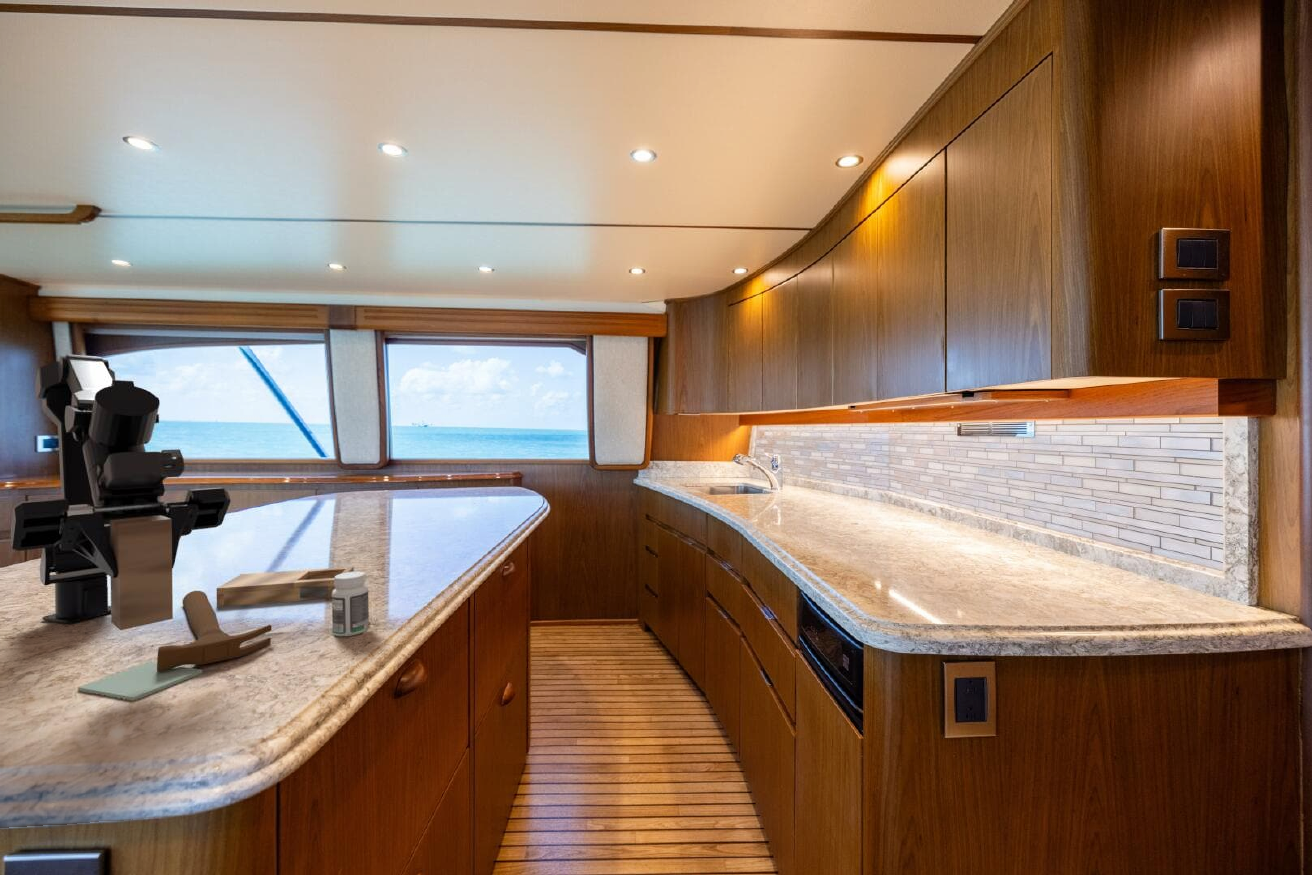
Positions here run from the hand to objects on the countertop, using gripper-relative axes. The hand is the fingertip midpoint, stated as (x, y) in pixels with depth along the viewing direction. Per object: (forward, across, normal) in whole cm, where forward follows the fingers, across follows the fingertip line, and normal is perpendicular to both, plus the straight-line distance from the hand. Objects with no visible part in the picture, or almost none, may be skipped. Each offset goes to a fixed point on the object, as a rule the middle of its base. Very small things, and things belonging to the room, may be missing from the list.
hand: (144, 571), depth 63 cm
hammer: (0, +10, +19) cm, 22 cm away
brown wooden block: (+3, 0, +5) cm, 6 cm away
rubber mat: (+9, 0, +10) cm, 13 cm away
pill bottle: (+11, +22, +8) cm, 26 cm away
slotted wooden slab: (-6, +23, +25) cm, 35 cm away
